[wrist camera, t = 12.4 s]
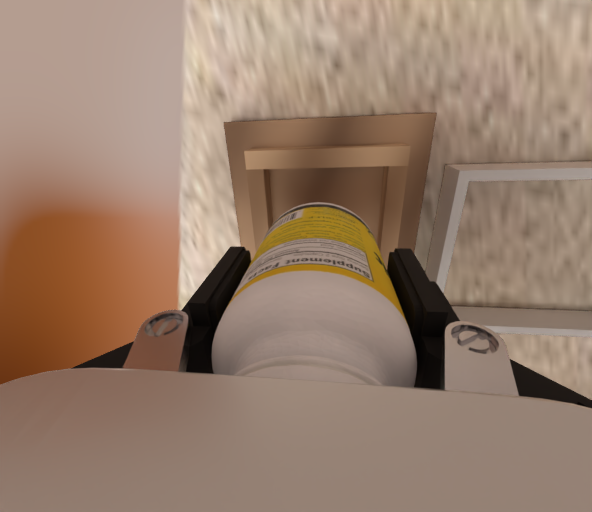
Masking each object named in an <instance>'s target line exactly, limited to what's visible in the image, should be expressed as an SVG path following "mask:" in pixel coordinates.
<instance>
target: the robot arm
mask: <svg viewBox="0 0 592 512" xmlns="http://www.w3.org/2000/svg"><path fill="white" fill-rule="evenodd" d="M250 263H251V254H250V251H249V250H246V249H245V247H230V248H229V249H228V251H227V252H226V253H225V255H224V256H223V257H222V259H221V260H220V261H219V262H218V264H217V265H216V266H215V268H214V269H213V270H212V272H211V273H210V274H209V275H208V277H207V278H206V279H205V281H204V282H203V283H202V284H201V286H200V287H199V288H198V290H197V291H196V292H195V294H194V295H193V296H192V297H191V299H190V300H189V301H188V303H187V304H186V305H185V307H184V308H183V309H182V310H181V311H180V310H168V311H164V312H160V313H158V314H155V315H153V316H152V317H150V318H148V319H147V320H146V321H145V322H144V323H143V324H142V325H141V327H140V328H139V331H138V333H137V336H136V338H135V340H134V342H131V343H129V344H127V345H124V346H122V347H120V348H117V349H115V350H113V351H110V352H108V353H106V354H103V355H101V356H99V357H96V358H94V359H92V360H89V361H87V362H85V363H83V364H80V365H78V366H75V367H73V368H71V369H65V370H57V371H50V372H44V373H40V374H36V375H31V376H27V377H23V378H19V379H16V380H13V381H10V382H7V383H5V384H2V385H0V512H592V400H590V399H588V398H586V397H584V396H582V395H580V394H578V393H576V392H574V391H572V390H570V389H568V388H566V387H564V386H562V385H560V384H558V383H556V382H554V381H552V380H550V379H548V378H546V377H544V376H542V375H540V374H538V373H536V372H534V371H532V370H530V369H528V368H526V367H524V366H523V365H521V364H519V363H517V362H515V361H513V360H511V359H509V355H508V351H507V348H506V345H505V343H504V341H503V339H502V338H501V337H500V336H499V335H498V334H497V333H495V332H494V331H492V330H491V329H489V328H487V327H485V326H483V325H480V324H477V323H473V322H467V321H460V320H459V318H458V317H457V315H456V313H455V312H454V310H453V308H452V307H451V305H450V304H449V302H448V300H447V299H446V297H445V296H444V294H443V292H442V291H441V289H440V288H439V286H438V284H437V283H436V282H434V281H430V280H429V278H428V277H427V275H426V273H425V272H424V270H423V268H422V267H421V265H420V263H419V261H418V260H417V258H416V256H415V255H414V253H413V251H412V250H411V249H408V248H395V250H394V252H390V253H389V258H388V266H387V271H388V274H389V276H390V280H391V282H392V285H393V287H394V290H395V292H396V295H397V298H398V300H399V303H400V306H401V308H402V311H403V313H404V316H405V319H406V321H407V324H408V326H409V330H410V333H411V336H412V339H413V343H414V346H415V351H416V357H417V373H416V379H415V385H414V387H400V386H387V385H373V384H359V383H345V382H331V381H316V380H301V379H286V378H271V377H256V376H240V375H224V374H214V372H213V368H212V357H211V356H212V344H213V339H214V335H215V332H216V330H217V327H218V324H219V322H220V320H221V318H222V316H223V314H224V311H225V310H226V308H227V306H228V304H229V303H230V301H231V299H232V297H233V295H234V293H235V291H236V290H237V288H238V286H239V284H240V282H241V280H242V278H243V276H244V274H245V273H246V271H247V269H248V267H249V266H250Z"/></svg>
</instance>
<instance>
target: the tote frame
mask: <svg viewBox="0 0 592 512" xmlns="http://www.w3.org/2000/svg"><path fill="white" fill-rule="evenodd" d="M532 180H592V161H573V162H531V163H488V164H446V165H445V171H444V176H443V181H442V187H441V192H440V197H439V203H438V208H437V213H436V219H435V224H434V229H433V235H432V240H431V245H430V251H429V256H428V261H427V267H426V272H425V273H426V275H427V277H428V278H429V280H430V281H434V282H436V283H437V284H438V286H439V288H440V289H441V291H442V292H443V294H444V289H445V285H446V280H447V276H448V272H449V267H450V263H451V259H452V254H453V250H454V246H455V241H456V237H457V232H458V228H459V224H460V219H461V215H462V211H463V206H464V202H465V197H466V193H467V189H468V184H469V182H471V181H532ZM451 307H452V308H453V310H454V312H455V313H456V315H457V317H458V318H459V320H460V321H467V322H473V323H477V324H480V325H483V326H485V327H487V328H489V329H491V330H492V331H494V332H495V333H507V334H528V335H550V336H572V337H592V311H577V310H549V309H521V308H493V307H465V306H451Z"/></svg>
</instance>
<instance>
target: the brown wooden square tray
mask: <svg viewBox="0 0 592 512" xmlns="http://www.w3.org/2000/svg"><path fill="white" fill-rule="evenodd" d="M436 114H437V113H419V114H397V115H375V116H353V117H331V118H309V119H287V120H265V121H243V122H224V129H225V136H226V143H227V150H228V157H229V164H230V171H231V178H232V185H233V193H234V200H235V207H236V214H237V221H238V228H239V235H240V242H241V247H245V249H246V250H249V251H250V254H251V261H252V260H253V258H254V256H255V254H256V252H257V250H258V248H259V246H260V245H261V243H262V241H263V239H264V237H265V235H266V233H267V232H268V230H269V229H270V227H271V226H272V224H273V223H274V222H275V221H276V220H277V219H278V218H279V217H280V216H281V215H282V214H284V213H285V212H287V211H288V210H290V209H292V208H294V207H297V206H299V205H302V204H306V203H314V202H323V203H332V204H335V205H339V206H342V207H344V208H346V209H348V210H350V211H352V212H353V213H355V214H356V215H357V216H359V217H360V218H361V219H362V220H363V221H364V222H365V223H366V224H367V226H368V227H369V229H370V230H371V232H372V234H373V236H374V238H375V240H376V243H377V245H378V248H379V251H380V253H381V256H382V259H383V261H384V264H385V267H386V269H387V266H388V258H389V253H390V252H394V250H395V248H408V249H411V250H412V251H413V253H414V250H415V244H416V238H417V232H418V225H419V219H420V213H421V207H422V201H423V194H424V188H425V182H426V176H427V170H428V163H429V157H430V151H431V145H432V139H433V132H434V126H435V120H436Z"/></svg>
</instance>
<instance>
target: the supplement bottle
mask: <svg viewBox="0 0 592 512" xmlns="http://www.w3.org/2000/svg"><path fill="white" fill-rule="evenodd" d="M211 357H212V368H213V372H214V374H224V375H240V376H256V377H271V378H286V379H301V380H316V381H331V382H345V383H359V384H373V385H387V386H400V387H414V385H415V379H416V373H417V357H416V351H415V346H414V343H413V339H412V336H411V333H410V330H409V326H408V324H407V321H406V319H405V316H404V313H403V311H402V308H401V306H400V303H399V300H398V298H397V295H396V292H395V290H394V287H393V285H392V282H391V280H390V276H389V274H388V271H387V269H386V267H385V264H384V261H383V259H382V256H381V253H380V251H379V248H378V245H377V243H376V240H375V238H374V236H373V234H372V232H371V230H370V229H369V227H368V226H367V224H366V223H365V222H364V221H363V220H362V219H361V218H360V217H359V216H357V215H356V214H355V213H353V212H352V211H350V210H348V209H346V208H344V207H342V206H339V205H335V204H332V203H323V202H314V203H306V204H302V205H299V206H297V207H294V208H292V209H290V210H288V211H287V212H285V213H284V214H282V215H281V216H280V217H279V218H278V219H277V220H276V221H275V222H274V223H273V224H272V226H271V227H270V229H269V230H268V232H267V233H266V235H265V237H264V239H263V241H262V243H261V245H260V246H259V248H258V250H257V252H256V254H255V256H254V258H253V260H252V261H251V263H250V266H249V267H248V269H247V271H246V273H245V274H244V276H243V278H242V280H241V282H240V284H239V286H238V288H237V290H236V291H235V293H234V295H233V297H232V299H231V301H230V303H229V304H228V306H227V308H226V310H225V311H224V314H223V316H222V318H221V320H220V322H219V324H218V327H217V330H216V332H215V335H214V339H213V344H212V356H211Z"/></svg>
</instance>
